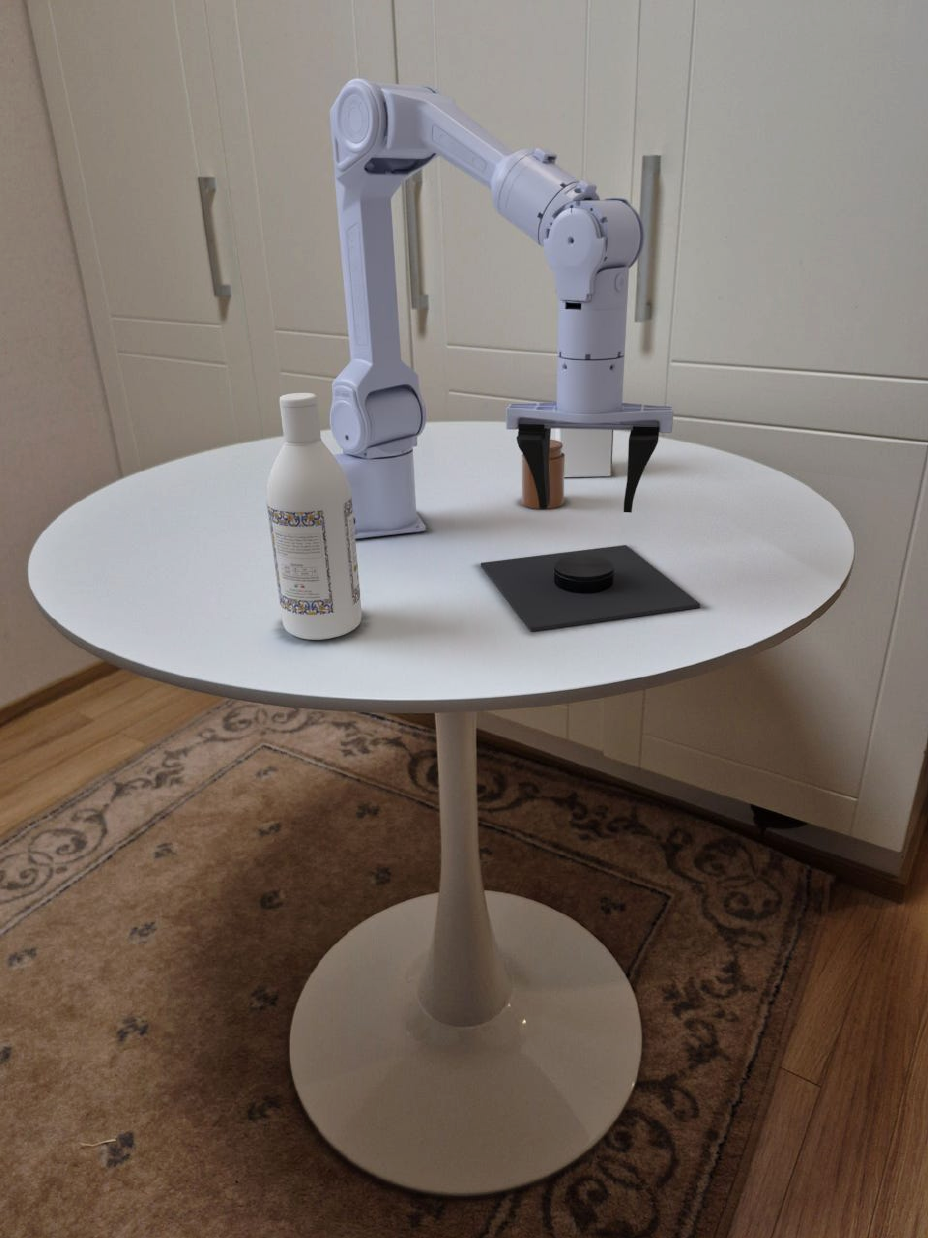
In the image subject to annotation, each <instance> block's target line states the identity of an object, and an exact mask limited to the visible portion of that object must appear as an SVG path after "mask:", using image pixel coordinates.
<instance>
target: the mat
mask: <svg viewBox="0 0 928 1238" xmlns="http://www.w3.org/2000/svg"><path fill="white" fill-rule="evenodd" d="M574 555H591V556H598V557H602V558H605V559H607V560H609V561H611V562H612V563H613V565H614V575H613V585H612V586H611V587H610V588H609V589H607V590H604V591H601V592H597V593H573V592H569V591H565V590H562V589H560V588H559V587H557V586H556V585H555V583H554V564H555V562H556V561H558V560H559V559H561V558H564V557H568V556H574ZM480 567H481V569H482V570H483V571H484V572H485V574H486V576H487V577H488V578H489V579H490V580H491V582H492V583H493V584H494V586H495V587H496V588H497V590H498V591H499V593H501V595H502V597H504V598H505V600H506V602H507V603H508V604H509V605H510V607H511V608H512V609H513V610H514V612H515V613H516V615H517V616H518V617H519V618H520V620H521V621H522V622H523V623H524V625H525V626H526V628H527V629H528V630H529V632H537V631H545V630H546V631H547V630H553V629H558V628H566V627H572V626H580V625H586V624H595V623H602V622H608V621H615V620H622V619H628V618H635V617H642V616H643V617H644V616H651V615H656V614H664V613H671V612H678V611H685V610H692V609H699V608H700V607H701V603H700V602H699V601H698V600H696V599H695V598H694V597H692V596H691V595H690V594H689V593H688V592H686V591H685V590H684V589H682V588H681V587H680V586H678V585H677V584H676V583H675V582H674V581H672V580H671V579H670V578H668V577H667V576H666V575H664V573H662V572H661V571H660V570H658V569H657V568H656V567H655V566H653V565H652V564H650V562H648V561H647V560H645V559H644V558H643V557H642V556H641V555H639V554H638V553H637V552H636V551H634V550H633V549H632V548H630V547H629V546H628V545H626V544H622V545H614V546H606V547H599V548H598V547H597V548H592V549H591V548H590V549H589V548H588V549H582V550H573V551H565V552H559V553H557V552H556V553H549V554H542V555H533V556H525V557H516V558H509V559H508V558H507V559H500V560H493V561H485V562H484V561H483V562H480Z"/></svg>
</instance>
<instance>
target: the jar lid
mask: <svg viewBox="0 0 928 1238" xmlns="http://www.w3.org/2000/svg"><path fill="white" fill-rule="evenodd" d="M613 575H614V565H613V563H612V562H611V561H609V560H607V559H605V558H602V557H598V556H591V555H574V556H568V557H564V558H561V559H559V560H558V561H556V562H555V564H554V583H555V585H556V586H557V587H559V588H560V589H562V590H565V591H569V592H573V593H597V592H601V591H604V590H607V589H609V588H610V587H611V586H612V585H613Z"/></svg>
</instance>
